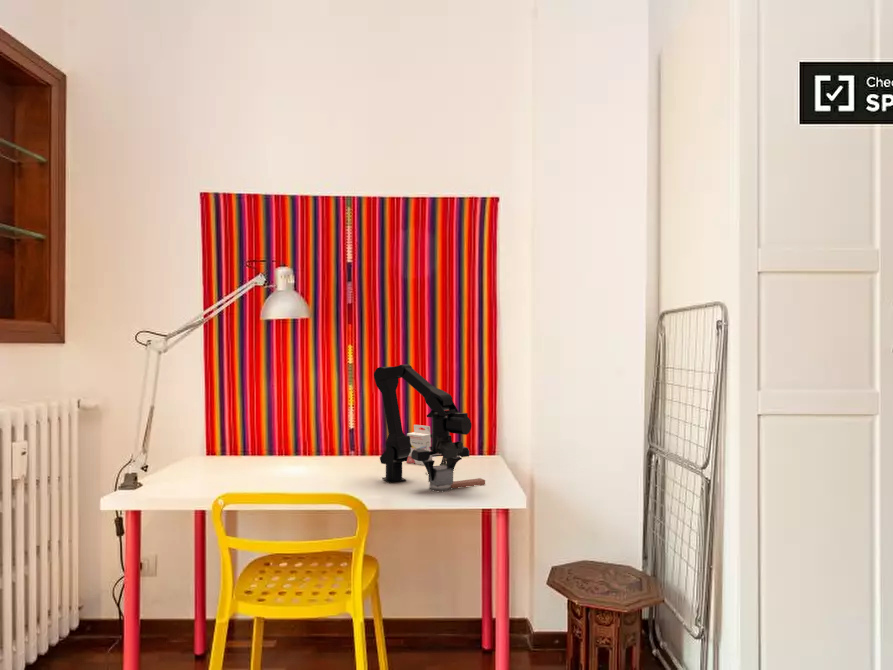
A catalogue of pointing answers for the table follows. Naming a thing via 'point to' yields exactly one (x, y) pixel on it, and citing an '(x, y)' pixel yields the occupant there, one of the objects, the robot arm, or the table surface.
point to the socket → (442, 475)
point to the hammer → (457, 484)
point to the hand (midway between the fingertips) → (440, 479)
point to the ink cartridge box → (419, 441)
